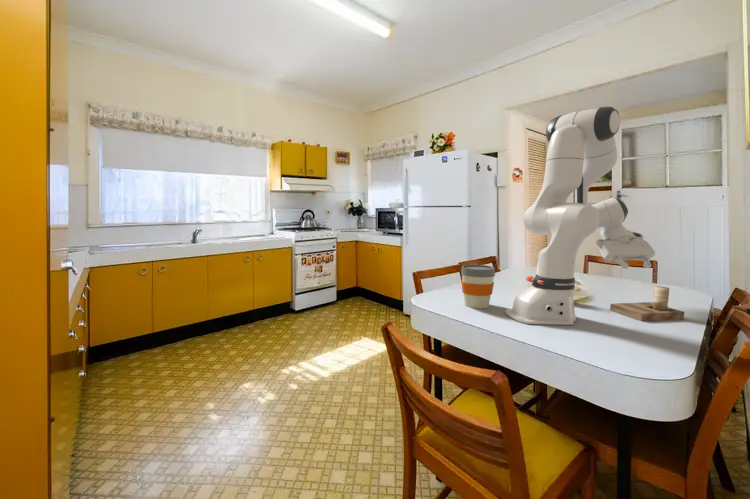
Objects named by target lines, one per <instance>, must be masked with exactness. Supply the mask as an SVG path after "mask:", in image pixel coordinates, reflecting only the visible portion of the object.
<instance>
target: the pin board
mask: <svg viewBox="0 0 750 499" xmlns="http://www.w3.org/2000/svg"><path fill="white" fill-rule="evenodd" d="M609 306H610V307H609V311H610V312H613V313H617V314H619V315H623V316H626V317H629V318H631V319H634V320H637V321H640V322H648V321H650V322H652V321H665V320H666V321H667V320H669V321H671V320H672V321H673V320H684V319H685V311H683V310H681V309H680V310H678V309H676V308H672V307H669V306H668V309H667V311H658V310H654V309H652V307H653V302H650V301H648V302H647V301H645V302H643V301H642V302H623V303H622V302H619V303H610V305H609Z"/></svg>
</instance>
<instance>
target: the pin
mask: <svg viewBox="0 0 750 499" xmlns="http://www.w3.org/2000/svg"><path fill="white" fill-rule="evenodd" d="M653 288H654V289H653V298H652V303H653V307H652V309H654V310H658V311H667V309H668V307H669V296H670V287H666V286H660V285H659V286H654V287H653Z"/></svg>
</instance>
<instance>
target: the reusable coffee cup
mask: <svg viewBox="0 0 750 499" xmlns="http://www.w3.org/2000/svg"><path fill="white" fill-rule="evenodd" d="M495 270H496V269H495V267H494V266H492V265H491V266H490V265H484V264H466V265H465V264H464V265H462V266H461V271H460V272H461V273H460V275H461V281H460V282H461V290H462V292H461V293H463V297H464V298H463V299H464V306H466V307H468V308H470V309H486V308H489V306H490V302H491V301H490V300H491V296H492V295H493V290H494V284H495V282H494V277H495V276H496V272H495Z"/></svg>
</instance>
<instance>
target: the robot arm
mask: <svg viewBox="0 0 750 499" xmlns="http://www.w3.org/2000/svg"><path fill="white" fill-rule="evenodd" d="M620 121H621V119H620V114H619V112H618V110H617V109H615V108H614V107H613V106H600V107H599V108H590V109H584V110H578V111H573V112H570V113H567V114H564V115H558V116H556V117H554V118H552V119H551V120H550V121H549V122H548V124H547V125H546V128H545V136H546V140H547V142H548V148H547V152H546V158H545V167H544V176H543V182H542V186H541V189H540V191H539V194H538V195H537V196H536V197H537V198H536V199H535V201H534V202H533V203H532V205H531V206H529V207H528V208H527V209H526V210H525V213H524V215H523V223H524V224H523V225H524V227H525V228H526V229H527V230H528V231H530V232H531V233H535V234H538V235H540V236H541V235H542V236H544V235H545V236H551V239H550V241H549V244H548V245H547V246H546V247H544V248H543V249H541V250H540V251H539V252H538V256H537V263H538V269H537V268H536V274H535V277H534V276H531V275H527V276H525V280H526V281H527V282H528V283H531V285H530V286H529V287H528V288H526V289H525V290H524V291H522V292H520V293H519V294H517V295H516V296H515V297H514V300H513V305H512V307H511V308H508V309H505V314H506V315H507V317H509V318H511V319H513V320H515V321H517V322H520V323H523V324H526V325H527V324H528V325H558V326H559V325H561V326H562V325H563V326H565V325H566V326H573V325H574V324H575V322H576V321H577V315H576V311H575V305H574V290H575V287H576V286H575V285H576V277H575V265H576V264H575V263H576V258H577V254H578V251H579V248H580V246H581V245H582V243H584V241H585V240H586V239H587V238H588V237H590V236H591V235H592V234H594V233H595V232H596V231H597V233H598V234H600V236H601V238H600V239H598V240H596V242H595V243H596V244H595V245H597V247H598V250H599V253H600V255H601V257H602V258H603V259H604V260H605V261H614V262H615V263H616V264H618V265H619V266H620V267H621V269H625V270H626V269H629V267H630V265H629V263H628V262H626V261H631V260H632V261H636V260H637V261H642V262H643V264H642V266H643V267H644V268H645V269H650V268H651V267H652V263H651V262H650V261H651V259H652V258H654V256H656V251H655V250H654V248H653V247H652V246H651V244H650V243H649V242H648V241H647V240H645V239H644V238H645V237H644V235H643V234H642V233H639V232H636V231H632V230H629V229H627V228H626V227H625V226H624V225H623V224H622V223H623V222H624V221H625V220H626V219H627V216H628V214H629V208H628V206H627V205H626V204H625V202H624V201H623V200H622V199H620V198H617V197H611V198H608V199H605V200H602V201H601V200H600V201H599V202H597V203H593V204H588V198H589V197H588V192H589V190H590V187H591V186H593V184H595V183H596V182H597V181H598V180H600V179H601V178H602V177H604V176H605V175H606V174H608V173H609V172H610V171H611V170H612V169H613V168H614V167H615V165H616V163H617V159H618V150H617V144H616V139H615V135H616V134H617V133H618V131H619V128H620ZM571 194H572V196H573V197H572V198H573V202H567V200H568V198H569V197H570V195H571Z"/></svg>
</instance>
